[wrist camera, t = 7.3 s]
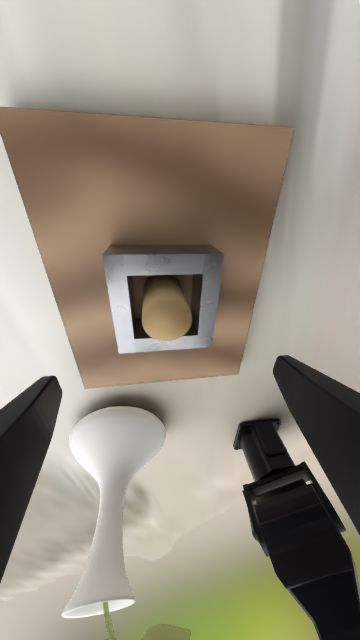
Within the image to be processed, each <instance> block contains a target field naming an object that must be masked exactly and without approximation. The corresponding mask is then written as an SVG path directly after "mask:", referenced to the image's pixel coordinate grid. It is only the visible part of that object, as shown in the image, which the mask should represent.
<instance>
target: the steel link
mask: <svg viewBox="0 0 360 640" xmlns="http://www.w3.org/2000/svg"><path fill="white" fill-rule="evenodd" d="M102 259H103V265H104V271H105V276H106V282H107V288H108V294H109V300H110V306H111V311H112V317H113V323H114V329H115V335H116V340H117V346H118V352H119V354H121V353H136V352H150V351H164V350H178V349H192V348H206V347H212V344H213V336H214V328H215V321H216V313H217V306H218V298H219V290H220V283H221V275H222V268H223V260H224V253H222V252H221V251H219V250H218V249H216V248H215V247H214V246H212V245H110V246H109V247H108V248H107V249H106V251H105V252H104V253H103V254H102ZM183 274H193V279H192V297H191V314H192V323H191V326H190V328H189V330H188V331H187V333H186V334H185V335H183V336H182V337H180V338H178V339H176V340H173V341H159V340H156V339H153V338H152V337H150V336H149V335H148V334H147V333H146V332H145V330H144V328H143V326H142V318H136V312H135V302H134V293H133V283H132V276H138V275H183Z"/></svg>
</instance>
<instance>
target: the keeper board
mask: <svg viewBox="0 0 360 640" xmlns="http://www.w3.org/2000/svg"><path fill="white" fill-rule="evenodd" d="M293 132H294V128H292V127H278V126H264V125H250V124H236V123H222V122H208V121H193V120H179V119H165V118H151V117H137V116H123V115H109V114H95V113H81V112H67V111H53V110H39V109H25V108H11V107H0V134H1V137H2V140H3V143H4V146H5V149H6V152H7V155H8V158H9V161H10V164H11V167H12V170H13V173H14V176H15V179H16V182H17V185H18V188H19V191H20V194H21V197H22V200H23V203H24V206H25V209H26V212H27V215H28V218H29V221H30V224H31V227H32V231H33V234H34V237H35V240H36V243H37V246H38V249H39V252H40V255H41V258H42V261H43V264H44V267H45V270H46V273H47V276H48V279H49V282H50V285H51V288H52V291H53V294H54V297H55V300H56V303H57V306H58V309H59V312H60V315H61V318H62V321H63V324H64V327H65V330H66V333H67V336H68V339H69V342H70V345H71V349H72V352H73V355H74V358H75V361H76V364H77V367H78V370H79V373H80V376H81V379H82V382H83V385H84V388H85V389H89V388H99V387H110V386H120V385H130V384H141V383H151V382H162V381H172V380H183V379H193V378H204V377H214V376H225V375H235V374H238V373H239V369H240V365H241V360H242V356H243V351H244V347H245V343H246V338H247V334H248V330H249V325H250V321H251V316H252V312H253V308H254V303H255V299H256V294H257V290H258V286H259V281H260V277H261V273H262V268H263V264H264V259H265V255H266V251H267V246H268V242H269V237H270V233H271V229H272V224H273V220H274V216H275V211H276V207H277V202H278V198H279V194H280V189H281V185H282V180H283V176H284V172H285V167H286V163H287V159H288V154H289V150H290V145H291V141H292V137H293ZM110 245H212V246H214V247H215V248H216V249H218V250H219V251H221V252H222V253H224V260H223V268H222V275H221V283H220V290H219V298H218V306H217V313H216V321H215V328H214V336H213V344H212V347H206V348H192V349H178V350H164V351H150V352H136V353H121V354H119V352H118V346H117V340H116V335H115V329H114V323H113V317H112V311H111V306H110V300H109V294H108V288H107V282H106V276H105V271H104V265H103V259H102V254H103V253H104V252H105V251H106V249H107V248H108V247H109V246H110ZM192 279H193V274H183V275H138V276H132V283H133V293H134V302H135V312H136V318H142V326H143V328H144V330H145V332H146V333H147V334H148V335H149V336H150V337H152V338H153V339H156V340H159V341H173V340H176V339H178V338H180V337H182V336H183V335H185V334H186V333H187V331H188V330H189V328H190V326H191V323H192V314H191V297H192Z"/></svg>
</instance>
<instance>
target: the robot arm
mask: <svg viewBox="0 0 360 640" xmlns="http://www.w3.org/2000/svg"><path fill="white" fill-rule="evenodd" d="M273 375H274V377H275V379H276V382H277V384H278V386H279V388H280V391H281V393H282V395H283V398H284V400H285V402H286V404H287V406H288V408H289V410H290V412H291V414H292V416H293V417H294V419H295V421H296V423H297V425H298V426H299V428H300V430H301V432H302V433H303V435H304V437H305V439H306V440H307V442H308V444H309V446H310V448H311V449H312V451H313V453H314V455H315V456H316V458H317V460H318V462H319V463H320V465H321V467H322V469H323V471H324V472H325V474H326V476H327V478H328V480H329V481H330V483H331V485H332V487H333V488H334V490H335V492H336V494H337V496H338V497H339V499H340V501H341V503H342V504H343V506H344V508H345V510H346V511H347V513H348V515H349V517H350V518H351V520H352V522H353V524H354V526H355V527H356V529H357V531H358V533H359V535H360V393H358V392H357V391H355V390H353V389H351V388H349V387H347V386H345V385H343V384H341V383H340V382H338V381H336V380H334V379H332V378H330V377H328V376H326V375H325V374H323V373H321V372H319V371H317V370H315V369H313V368H311V367H309V366H308V365H306V364H304V363H302V362H300V361H298V360H296V359H294V358H293V357H291V356H288V355H283V356H278V357H277V359H276V362H275V365H274V368H273ZM61 398H62V389H61V387H60V385H59V382H58V380H57V378H56V377H55V376H44V377H41V378H40V379H39V380H37V381H36V382H35V383H34V384H32V385H31V386H30V387H28V388H27V389H26V390H25V391H23V392H22V393H21V394H20V395H18V396H17V397H16V398H14V399H13V400H12V401H11V402H9V403H8V404H7V405H5V406H4V407H3V408H2V409H0V583H1V580H2V577H3V574H4V571H5V568H6V566H7V563H8V560H9V557H10V554H11V552H12V549H13V546H14V543H15V540H16V537H17V535H18V532H19V529H20V526H21V523H22V521H23V518H24V515H25V512H26V509H27V507H28V504H29V501H30V498H31V495H32V492H33V490H34V487H35V484H36V481H37V478H38V476H39V473H40V470H41V467H42V464H43V461H44V459H45V456H46V453H47V450H48V447H49V445H50V442H51V439H52V435H53V431H54V427H55V423H56V419H57V415H58V411H59V407H60V402H61ZM280 425H281V421H280V419H273V420H265V421H257V422H250V423H242V424H240V425H239V428H238V431H237V435H236V438H235V442H234V445H233V447H234V449H235V450H238V449H242V450H243V452H244V455H245V458H246V460H247V463H248V465H249V468H250V471H251V473H252V476H253V479H254V481H255V482H253V483H250V484H245V485H243V488H244V490H243V494H244V497H245V500H246V503H247V507H248V512H249V517H250V523H251V528H252V534H253V536H254V538H255V539H256V540H257V541H258V542H259V543H260V545H261V547H262V549H263V551H264V553H265V554H266V556H270V559H271V562H272V564H273V567H274V570H275V573H276V575H277V576H278V578H279V579H280V581H281V582H282V583H283V585H284V586H285V588H286V589H288V591H289V592H290V593H291V595H292V596H293V597H294V598H295V600H296V601H297V602H298V603H299V605H300V606H301V607H302V609H303V610H304V611H305V612H306V614H307V615H308V616H309V618H310V619H311V620H312V622H313V624H314V626H315V629H316V631H317V634H318V636H319V639H320V640H360V589H359V583H358V578H357V571H356V566H355V562H354V559H353V557H352V554H351V552H350V549H349V548H348V546H347V544H346V542H345V540H344V539H343V537H342V535H341V533H340V532H344V531H346V529H345V527H344V525H343V523H342V522H341V520H340V518H339V516H338V515H337V513H336V511H335V509H334V508H333V506H332V504H331V503H330V501H329V499H328V498H327V496H326V495H325V493H324V492H323V490H322V488H321V487H320V485H319V484H318V482H317V480H316V479H315V477H314V476H313V474H312V472H311V471H310V469H309V468H308V466H307V464H306V463H305V461H304V462H302V463H301V464H299V465H296V466H295V464H294V462H293V461H292V459H291V457H290V455H289V453H288V452H287V449H286V447H285V446H284V444H283V442H282V440H281V438H280V437H279V435H278V433H277V431H278V429H279V427H280ZM307 481H310V483H311V484H308V485H307V484H306V483H305V482H307Z"/></svg>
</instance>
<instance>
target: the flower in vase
mask: <svg viewBox="0 0 360 640" xmlns="http://www.w3.org/2000/svg"><path fill="white" fill-rule="evenodd" d="M165 437H166V430H165V427H164V425H163V423H162V422H161V421H160V420H159V419H158V418H157V417H156V416H155V415H154V414H152V413H150V412H149V411H146V410H143V409H140V408H136V407H129V406H116V407H108V408H104V409H100V410H97V411H95V412H92V413H90V414H88V415H87V416H85V417H84V418H82V419H81V420H80V421H79V422H78V423H77V424H76V425H75V426H74V427H73V428H72V430H71V432H70V436H69V441H70V449H71V452H72V453H73V455H74V456H75V458H76V459H77V461H78V462H79V463H80V464H81V465H82V466H83V467H84V468H85V469H86V470H87V471H88V472H89V473H90V474H91V475H92V476H93V477H94V478H95V479H96V480H97V482H98V484H99V487H100V508H99V515H98V520H97V526H96V531H95V535H94V539H93V543H92V547H91V551H90V554H89V557H88V561H87V564H86V567H85V569H84V572H83V574H82V577H81V579H80V582H79V584H78V586H77V588H76V590H75V592H74V594H73V596H72V597H71V599H70V601H69V602H68V604H67V606H66V607H65V609H64V610H63V613H62V617H64V618H79V617H87V616H93V615H98V614H103V613H104V617H105V623H106V627H107V632H108V636H109V639H107V640H116V638H115V635H114V631H113V627H112V623H111V618H110V613H109V612H111V611H115V610H119V609H122V608H125V607H127V606H129V605H131V604H133V603H134V602H135V601H136V600H135V596H134V594H133V592H132V589H131V587H130V585H129V581H128V578H127V575H126V570H125V565H124V557H123V544H122V525H123V508H124V499H125V494H126V490H127V487H128V485H129V483H130V481H131V480H132V479H133V477H134V476H135V475H136V474H137V473H138V472H139V471H140V470H142V469H143V468H144V467H145V466H146V465H147V464H148V463H149V462H150V461H151V460H152V459H153V458H154V457H155V456H156V455H157V453H158V452H159V451H160V450H161V448H162V446H163V444H164V440H165ZM190 636H191V630H189V629H185V628H181V627H176V626H171V625H166V624H157V625H154V626H152V627H150V628H149V630H148V631H147V632H146V633H145V635H144V637H143V639H142V640H190Z"/></svg>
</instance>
